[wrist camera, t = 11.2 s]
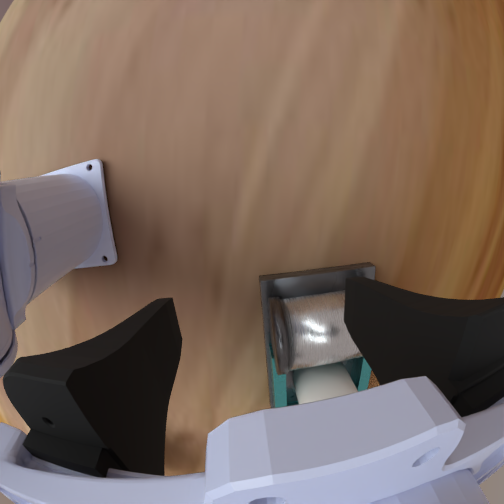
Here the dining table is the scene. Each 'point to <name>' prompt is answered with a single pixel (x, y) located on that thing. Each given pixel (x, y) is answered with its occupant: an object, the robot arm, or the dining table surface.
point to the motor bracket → (308, 327)
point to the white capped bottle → (322, 382)
